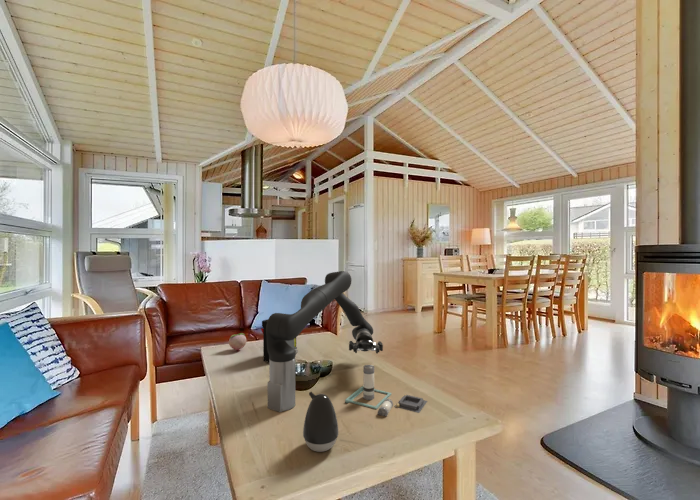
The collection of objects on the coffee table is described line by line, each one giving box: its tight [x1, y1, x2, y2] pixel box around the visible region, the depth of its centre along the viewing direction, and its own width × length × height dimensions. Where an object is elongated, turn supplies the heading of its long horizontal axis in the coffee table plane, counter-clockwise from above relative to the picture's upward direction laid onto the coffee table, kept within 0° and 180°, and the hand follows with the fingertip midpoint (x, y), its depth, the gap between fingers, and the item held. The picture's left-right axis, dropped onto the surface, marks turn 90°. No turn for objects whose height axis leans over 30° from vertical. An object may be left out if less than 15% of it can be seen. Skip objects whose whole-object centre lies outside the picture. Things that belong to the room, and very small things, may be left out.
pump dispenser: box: [302, 391, 339, 453], centre depth 100 cm, size 10×10×15 cm
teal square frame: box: [344, 386, 392, 410], centre depth 129 cm, size 14×13×2 cm
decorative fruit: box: [228, 332, 247, 351], centre depth 187 cm, size 9×8×10 cm
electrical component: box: [260, 318, 299, 363], centre depth 177 cm, size 18×10×20 cm, turn 148°
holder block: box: [394, 393, 428, 414], centre depth 124 cm, size 10×9×2 cm
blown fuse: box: [362, 364, 375, 401], centre depth 129 cm, size 4×4×12 cm
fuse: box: [377, 398, 394, 417], centre depth 119 cm, size 8×3×3 cm, turn 159°
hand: (366, 350), depth 139 cm, fingers open, 8 cm apart
